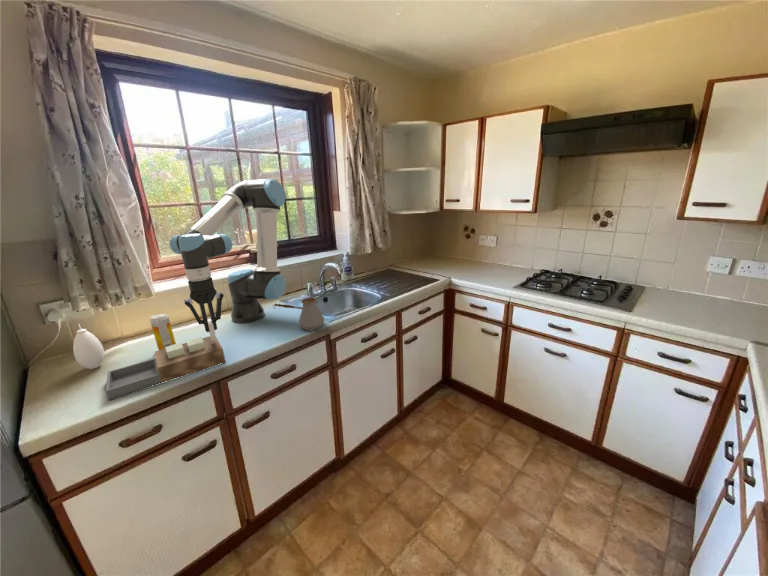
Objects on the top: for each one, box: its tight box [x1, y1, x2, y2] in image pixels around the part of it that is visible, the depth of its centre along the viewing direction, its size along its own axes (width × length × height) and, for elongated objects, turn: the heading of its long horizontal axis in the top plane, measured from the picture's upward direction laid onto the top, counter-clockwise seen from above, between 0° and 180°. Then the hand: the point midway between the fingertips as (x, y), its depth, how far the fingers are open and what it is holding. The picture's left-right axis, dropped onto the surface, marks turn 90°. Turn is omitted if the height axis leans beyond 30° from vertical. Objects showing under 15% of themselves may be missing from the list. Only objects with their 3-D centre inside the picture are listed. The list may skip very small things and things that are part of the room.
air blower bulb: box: [72, 322, 105, 370], centre depth 119 cm, size 8×8×18 cm
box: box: [105, 357, 163, 401], centre depth 111 cm, size 14×14×4 cm
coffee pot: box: [272, 297, 325, 332], centre depth 143 cm, size 21×12×15 cm, turn 126°
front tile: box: [165, 342, 185, 359], centre depth 116 cm, size 5×5×2 cm
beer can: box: [149, 312, 177, 351], centre depth 130 cm, size 6×6×15 cm
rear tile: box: [185, 336, 205, 352], centre depth 120 cm, size 5×5×2 cm
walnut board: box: [154, 335, 227, 383], centre depth 120 cm, size 20×14×6 cm
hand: (213, 338), depth 123 cm, fingers closed
